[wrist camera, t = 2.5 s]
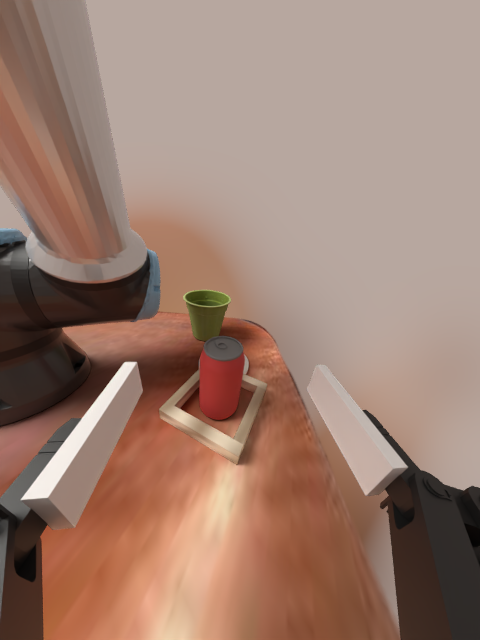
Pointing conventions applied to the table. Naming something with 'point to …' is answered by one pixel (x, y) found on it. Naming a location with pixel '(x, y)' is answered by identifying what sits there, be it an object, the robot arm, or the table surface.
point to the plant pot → (206, 312)
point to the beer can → (221, 376)
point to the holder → (206, 433)
